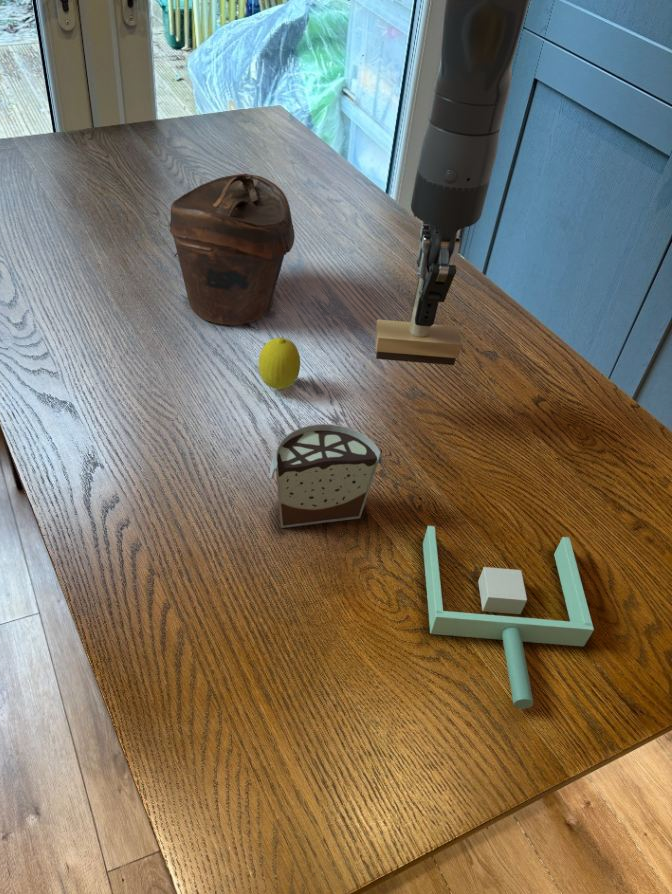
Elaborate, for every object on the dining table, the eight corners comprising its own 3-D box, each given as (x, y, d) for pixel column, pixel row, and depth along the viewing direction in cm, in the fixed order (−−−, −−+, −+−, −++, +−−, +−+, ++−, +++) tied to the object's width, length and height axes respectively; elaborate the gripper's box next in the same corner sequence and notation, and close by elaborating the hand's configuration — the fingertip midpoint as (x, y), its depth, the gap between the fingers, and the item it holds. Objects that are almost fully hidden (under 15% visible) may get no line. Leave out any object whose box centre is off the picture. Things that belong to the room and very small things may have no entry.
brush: (373, 341, 94) (386, 266, 87) (452, 348, 94) (472, 273, 87) (374, 359, 91) (387, 284, 84) (455, 366, 91) (475, 291, 84)
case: (267, 264, 125) (271, 153, 112) (306, 330, 112) (316, 213, 99) (161, 276, 121) (153, 162, 108) (189, 346, 108) (183, 226, 95)
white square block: (477, 581, 81) (483, 566, 79) (514, 584, 81) (521, 569, 79) (482, 611, 78) (488, 597, 76) (520, 614, 78) (527, 600, 76)
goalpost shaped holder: (422, 543, 84) (427, 525, 82) (560, 554, 84) (569, 537, 82) (436, 705, 70) (442, 688, 68) (601, 718, 70) (613, 703, 68)
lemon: (285, 406, 100) (288, 356, 94) (250, 391, 101) (251, 341, 95) (305, 385, 103) (310, 335, 97) (270, 371, 105) (273, 321, 99)
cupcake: (357, 479, 91) (369, 415, 83) (372, 516, 87) (385, 452, 79) (257, 491, 88) (260, 426, 81) (268, 529, 84) (271, 464, 77)
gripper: (500, 202, 72) (459, 353, 84) (482, 146, 81) (448, 289, 94) (422, 195, 72) (393, 348, 84) (414, 140, 81) (389, 284, 94)
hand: (422, 316), depth 89 cm, fingers closed on brush, 2 cm apart
